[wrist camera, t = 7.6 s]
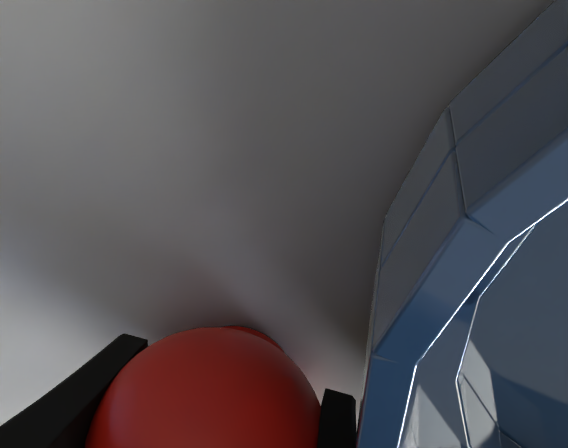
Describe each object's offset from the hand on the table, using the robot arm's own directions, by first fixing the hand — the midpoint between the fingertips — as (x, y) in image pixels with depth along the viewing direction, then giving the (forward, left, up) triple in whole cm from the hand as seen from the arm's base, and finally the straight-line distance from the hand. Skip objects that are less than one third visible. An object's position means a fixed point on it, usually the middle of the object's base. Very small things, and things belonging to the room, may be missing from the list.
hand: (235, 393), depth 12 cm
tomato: (0, 0, -1) cm, 1 cm away
